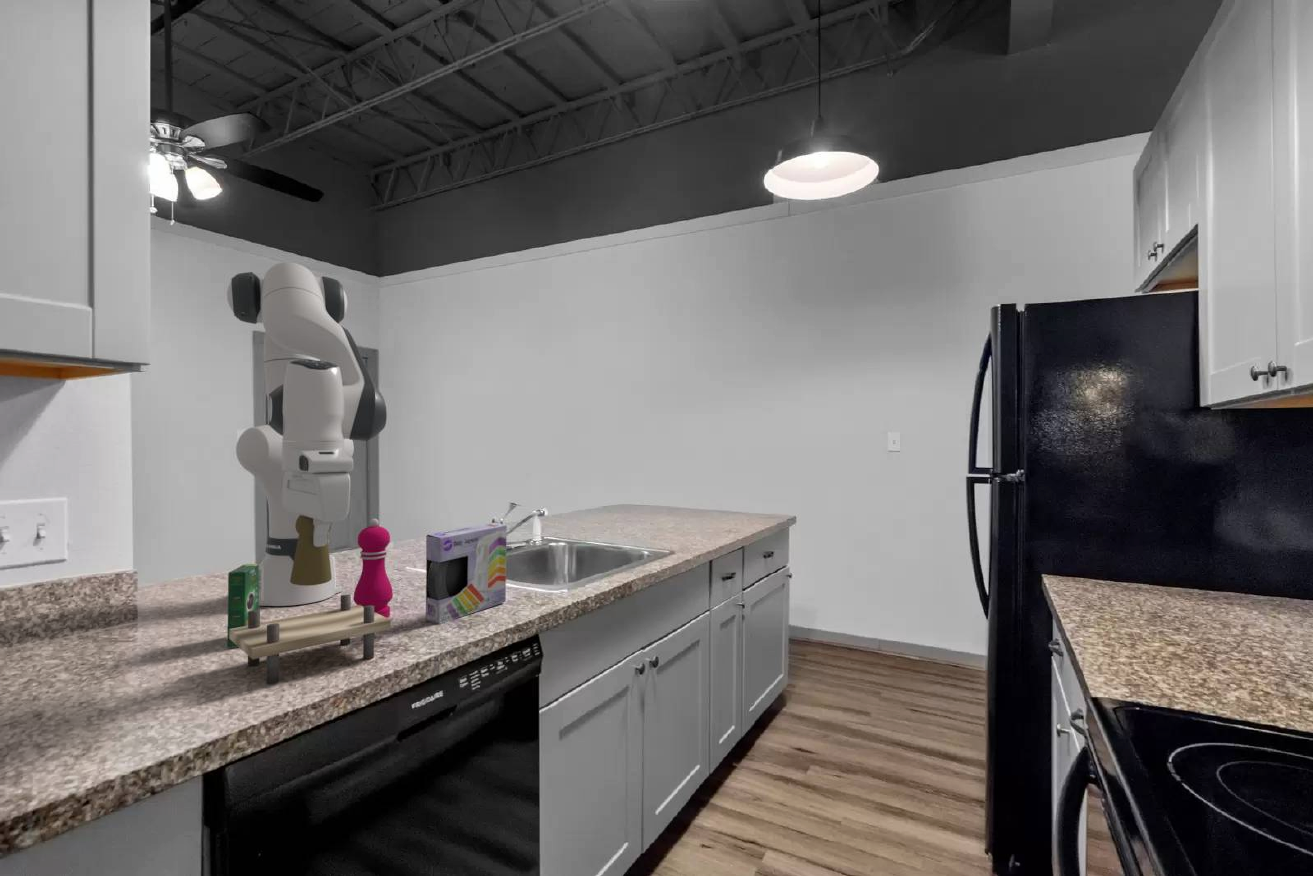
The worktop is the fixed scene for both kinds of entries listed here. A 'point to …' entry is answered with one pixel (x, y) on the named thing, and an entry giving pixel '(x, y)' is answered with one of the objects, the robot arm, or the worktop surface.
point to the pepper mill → (374, 570)
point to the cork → (310, 557)
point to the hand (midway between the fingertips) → (313, 543)
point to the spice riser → (307, 633)
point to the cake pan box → (465, 571)
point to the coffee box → (242, 596)
